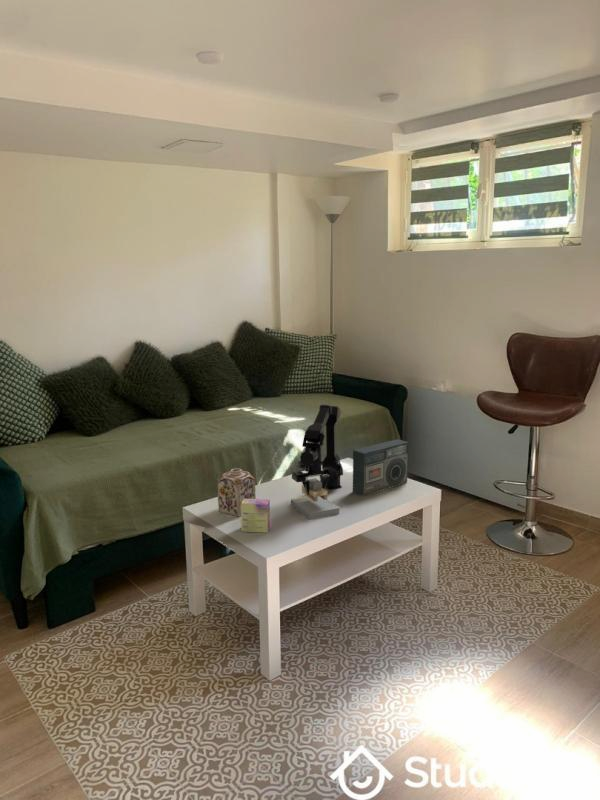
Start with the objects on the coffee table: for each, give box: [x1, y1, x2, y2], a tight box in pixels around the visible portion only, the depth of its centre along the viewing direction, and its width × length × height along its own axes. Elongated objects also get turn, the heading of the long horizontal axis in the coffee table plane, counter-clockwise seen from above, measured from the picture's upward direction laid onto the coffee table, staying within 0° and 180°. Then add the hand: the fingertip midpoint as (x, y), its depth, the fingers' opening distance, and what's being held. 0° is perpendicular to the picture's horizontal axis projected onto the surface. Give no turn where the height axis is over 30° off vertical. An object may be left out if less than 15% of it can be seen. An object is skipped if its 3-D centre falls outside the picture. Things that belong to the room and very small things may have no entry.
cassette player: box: [352, 438, 410, 497], centre depth 282 cm, size 29×7×20 cm, turn 128°
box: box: [240, 498, 271, 534], centre depth 236 cm, size 10×6×12 cm, turn 84°
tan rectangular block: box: [301, 484, 328, 502], centre depth 256 cm, size 6×12×4 cm, turn 25°
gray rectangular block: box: [308, 477, 322, 491], centre depth 255 cm, size 4×6×3 cm, turn 25°
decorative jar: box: [217, 468, 257, 518], centre depth 255 cm, size 12×12×18 cm
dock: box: [290, 495, 340, 520], centre depth 257 cm, size 14×18×2 cm
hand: (314, 493), depth 256 cm, fingers closed on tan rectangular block, 6 cm apart
